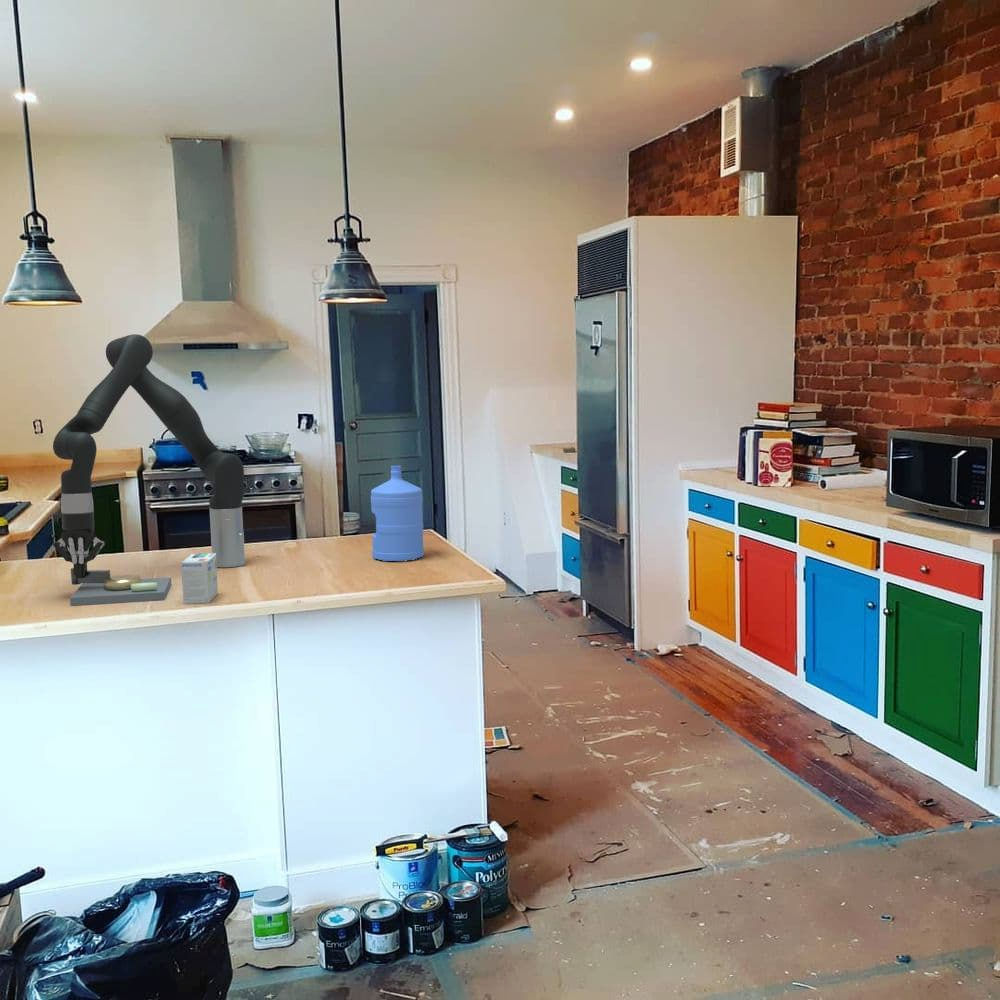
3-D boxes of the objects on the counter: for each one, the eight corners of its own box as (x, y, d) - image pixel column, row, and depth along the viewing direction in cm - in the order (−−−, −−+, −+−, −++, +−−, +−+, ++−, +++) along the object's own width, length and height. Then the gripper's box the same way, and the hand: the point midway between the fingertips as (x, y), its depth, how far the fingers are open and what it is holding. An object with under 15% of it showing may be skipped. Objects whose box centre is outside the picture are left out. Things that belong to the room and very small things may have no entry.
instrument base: (171, 584, 261) (170, 570, 260) (164, 599, 244) (163, 584, 243) (84, 589, 256) (83, 575, 256) (70, 605, 239) (69, 590, 238)
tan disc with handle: (146, 582, 254) (145, 564, 253) (132, 589, 245) (131, 571, 244) (80, 582, 254) (79, 564, 254) (64, 590, 245) (62, 572, 245)
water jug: (434, 555, 297) (432, 464, 293) (402, 564, 284) (400, 469, 280) (394, 550, 305) (391, 462, 301) (361, 559, 292) (358, 467, 288)
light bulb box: (192, 594, 250) (190, 553, 248) (219, 593, 250) (216, 552, 249) (182, 604, 239) (180, 561, 238) (210, 603, 240) (208, 560, 238)
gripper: (109, 508, 249) (112, 575, 251) (58, 509, 249) (61, 575, 251) (97, 512, 242) (100, 580, 244) (44, 512, 242) (48, 580, 244)
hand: (80, 577), depth 247 cm, fingers closed
